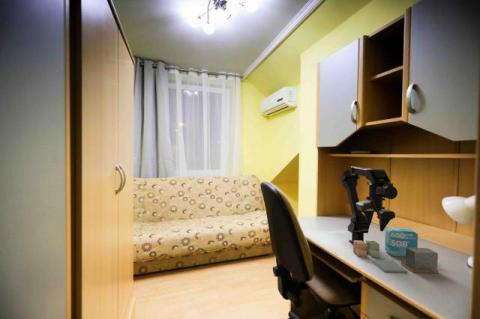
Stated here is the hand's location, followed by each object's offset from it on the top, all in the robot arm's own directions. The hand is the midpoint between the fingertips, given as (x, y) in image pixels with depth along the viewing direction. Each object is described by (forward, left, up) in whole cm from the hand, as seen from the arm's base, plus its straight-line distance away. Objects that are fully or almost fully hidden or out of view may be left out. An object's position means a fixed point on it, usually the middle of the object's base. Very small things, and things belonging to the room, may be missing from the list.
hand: (374, 228), depth 106 cm
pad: (+12, -1, -13) cm, 17 cm away
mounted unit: (+13, +11, -13) cm, 21 cm away
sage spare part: (0, -1, -13) cm, 13 cm away
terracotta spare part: (0, -7, -13) cm, 15 cm away
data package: (-1, +13, -13) cm, 19 cm away
